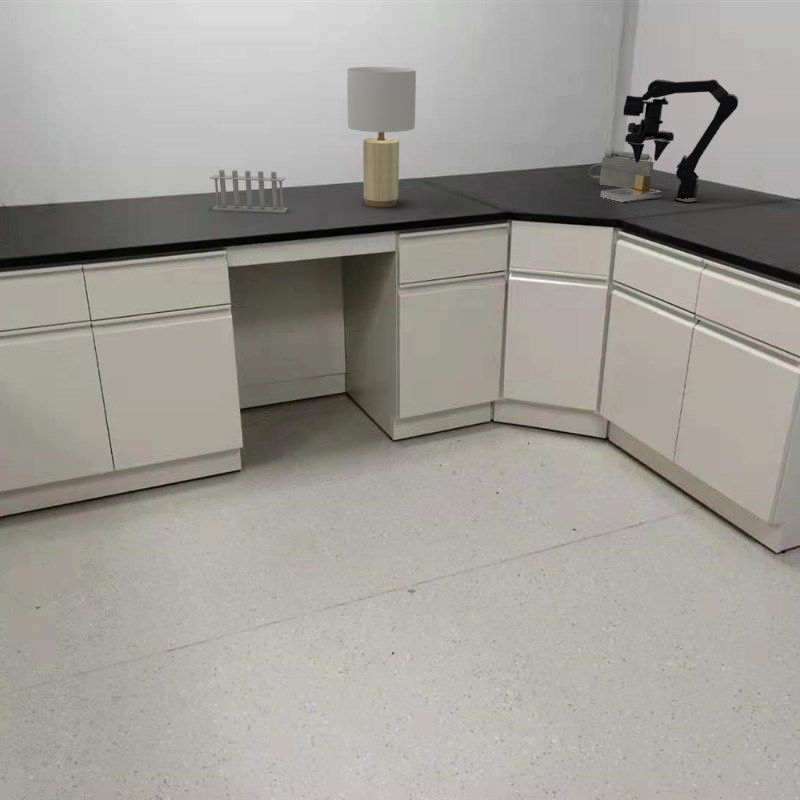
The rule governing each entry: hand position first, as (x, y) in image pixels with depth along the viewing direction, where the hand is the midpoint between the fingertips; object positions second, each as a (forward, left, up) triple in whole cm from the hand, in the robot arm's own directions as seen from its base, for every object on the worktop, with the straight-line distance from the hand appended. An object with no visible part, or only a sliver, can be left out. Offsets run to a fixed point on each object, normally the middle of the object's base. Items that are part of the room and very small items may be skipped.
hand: (646, 161), depth 305 cm
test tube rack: (+138, -43, -13) cm, 145 cm away
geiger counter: (-4, -17, -13) cm, 22 cm away
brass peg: (0, 0, -13) cm, 13 cm away
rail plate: (+5, 0, -13) cm, 14 cm away
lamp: (+94, -31, -13) cm, 100 cm away
